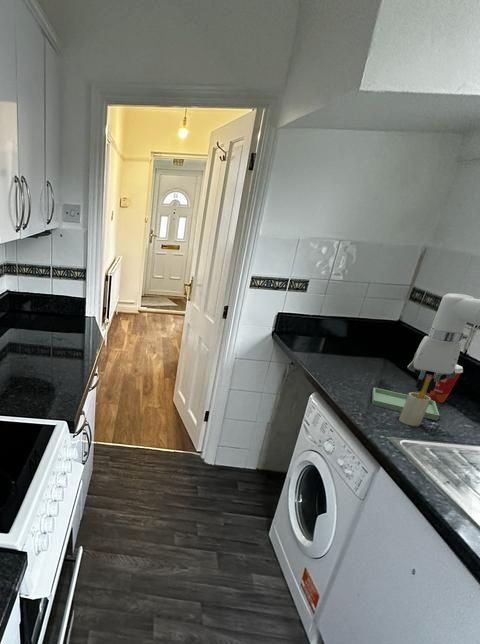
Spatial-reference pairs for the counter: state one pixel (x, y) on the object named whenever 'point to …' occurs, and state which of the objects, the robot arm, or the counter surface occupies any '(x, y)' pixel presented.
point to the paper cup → (445, 386)
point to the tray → (399, 402)
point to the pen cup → (414, 409)
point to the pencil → (425, 386)
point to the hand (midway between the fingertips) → (423, 390)
